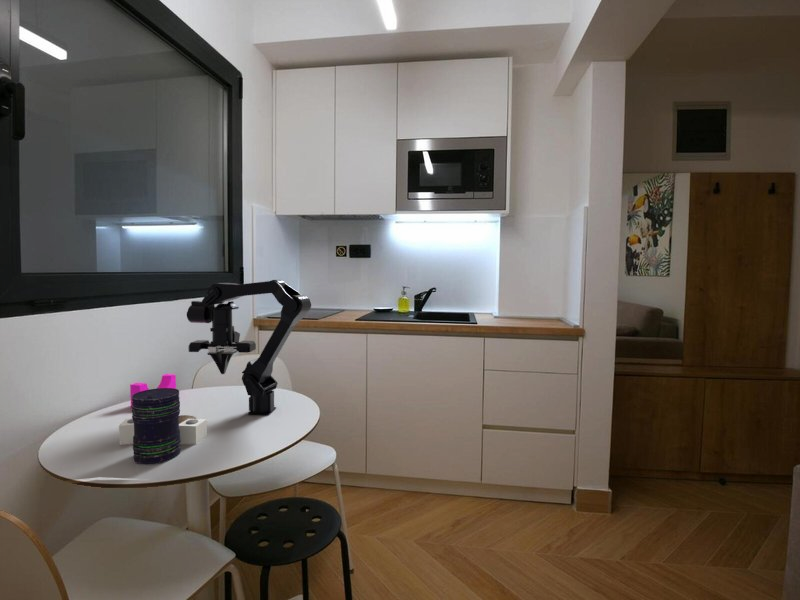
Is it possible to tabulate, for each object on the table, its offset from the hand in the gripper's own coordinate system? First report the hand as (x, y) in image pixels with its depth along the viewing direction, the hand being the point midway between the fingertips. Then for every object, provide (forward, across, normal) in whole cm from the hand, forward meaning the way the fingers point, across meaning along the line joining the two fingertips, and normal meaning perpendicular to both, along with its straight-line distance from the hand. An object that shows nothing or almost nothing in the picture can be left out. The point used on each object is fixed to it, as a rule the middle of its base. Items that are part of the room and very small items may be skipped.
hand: (223, 373), depth 131 cm
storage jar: (+12, +2, +32) cm, 34 cm away
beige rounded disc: (+12, +5, +16) cm, 21 cm away
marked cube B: (+12, +14, +23) cm, 29 cm away
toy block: (+12, +26, -10) cm, 31 cm away
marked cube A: (+12, -2, +23) cm, 26 cm away
